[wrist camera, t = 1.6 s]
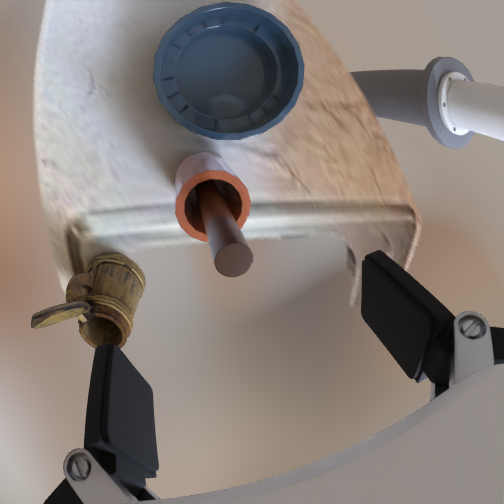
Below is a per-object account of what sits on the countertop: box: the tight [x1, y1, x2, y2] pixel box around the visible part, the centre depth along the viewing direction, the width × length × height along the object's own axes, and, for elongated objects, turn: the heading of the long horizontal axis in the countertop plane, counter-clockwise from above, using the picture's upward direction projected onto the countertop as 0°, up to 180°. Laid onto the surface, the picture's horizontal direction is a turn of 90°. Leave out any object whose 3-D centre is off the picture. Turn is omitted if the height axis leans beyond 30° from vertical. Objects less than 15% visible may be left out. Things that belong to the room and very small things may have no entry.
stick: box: [195, 179, 253, 277], centre depth 26 cm, size 2×2×20 cm
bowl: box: [153, 2, 304, 140], centre depth 27 cm, size 15×15×6 cm
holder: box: [175, 152, 251, 242], centre depth 30 cm, size 7×7×11 cm
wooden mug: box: [31, 253, 146, 348], centre depth 30 cm, size 9×14×18 cm, turn 21°
